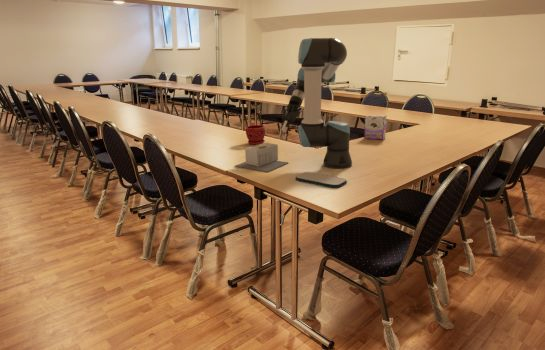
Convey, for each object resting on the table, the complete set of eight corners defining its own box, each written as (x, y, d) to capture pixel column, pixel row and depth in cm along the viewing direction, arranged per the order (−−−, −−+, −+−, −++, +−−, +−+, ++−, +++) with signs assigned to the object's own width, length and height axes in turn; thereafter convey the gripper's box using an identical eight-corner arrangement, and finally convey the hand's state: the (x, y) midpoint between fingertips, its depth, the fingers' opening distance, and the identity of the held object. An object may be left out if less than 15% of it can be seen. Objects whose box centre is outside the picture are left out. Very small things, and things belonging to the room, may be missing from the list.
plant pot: (252, 141, 272) (251, 124, 269) (268, 142, 266) (268, 125, 263) (242, 144, 261) (241, 127, 258) (259, 146, 255) (258, 128, 252)
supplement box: (278, 144, 213) (257, 150, 201) (278, 160, 216) (258, 166, 204) (265, 142, 219) (244, 147, 207) (265, 158, 222) (245, 164, 210)
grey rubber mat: (288, 163, 211) (288, 162, 211) (268, 172, 196) (268, 171, 195) (256, 158, 223) (256, 157, 223) (234, 166, 207) (234, 165, 207)
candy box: (385, 138, 268) (387, 115, 264) (383, 140, 264) (384, 116, 259) (366, 137, 275) (367, 114, 271) (363, 138, 271) (364, 115, 266)
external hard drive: (293, 181, 182) (293, 177, 182) (306, 175, 191) (306, 171, 190) (337, 190, 168) (337, 185, 168) (349, 183, 177) (349, 179, 176)
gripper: (308, 103, 232) (295, 135, 223) (289, 102, 238) (276, 133, 230) (304, 95, 226) (290, 128, 217) (285, 94, 233) (271, 126, 224)
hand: (283, 130), depth 224 cm, fingers closed
